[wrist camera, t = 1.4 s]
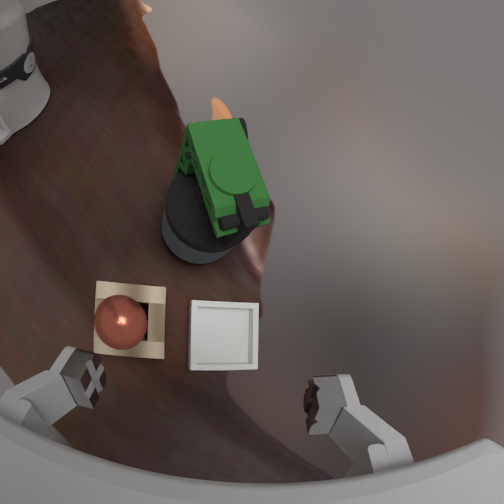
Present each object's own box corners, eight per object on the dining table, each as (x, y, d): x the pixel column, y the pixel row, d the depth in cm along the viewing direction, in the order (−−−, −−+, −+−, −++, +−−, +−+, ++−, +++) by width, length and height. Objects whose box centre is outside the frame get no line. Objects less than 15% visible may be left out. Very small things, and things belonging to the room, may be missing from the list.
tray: (187, 367, 38) (190, 370, 36) (189, 300, 41) (191, 299, 38) (251, 366, 42) (257, 369, 39) (252, 304, 44) (258, 303, 42)
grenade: (212, 178, 46) (256, 98, 28) (238, 256, 45) (305, 213, 27) (147, 192, 42) (156, 108, 24) (171, 277, 41) (194, 243, 22)
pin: (114, 334, 36) (93, 347, 20) (116, 302, 37) (95, 292, 21) (146, 337, 37) (146, 352, 22) (147, 305, 39) (148, 297, 23)
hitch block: (100, 348, 35) (93, 353, 30) (102, 285, 37) (96, 280, 32) (162, 354, 38) (164, 358, 33) (163, 290, 40) (166, 287, 35)
